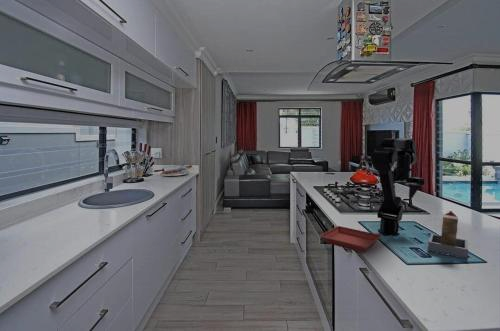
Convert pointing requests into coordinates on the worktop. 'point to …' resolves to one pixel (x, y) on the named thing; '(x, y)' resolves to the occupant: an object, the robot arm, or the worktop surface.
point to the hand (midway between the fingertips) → (400, 199)
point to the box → (448, 246)
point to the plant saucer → (350, 238)
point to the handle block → (449, 230)
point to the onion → (450, 214)
